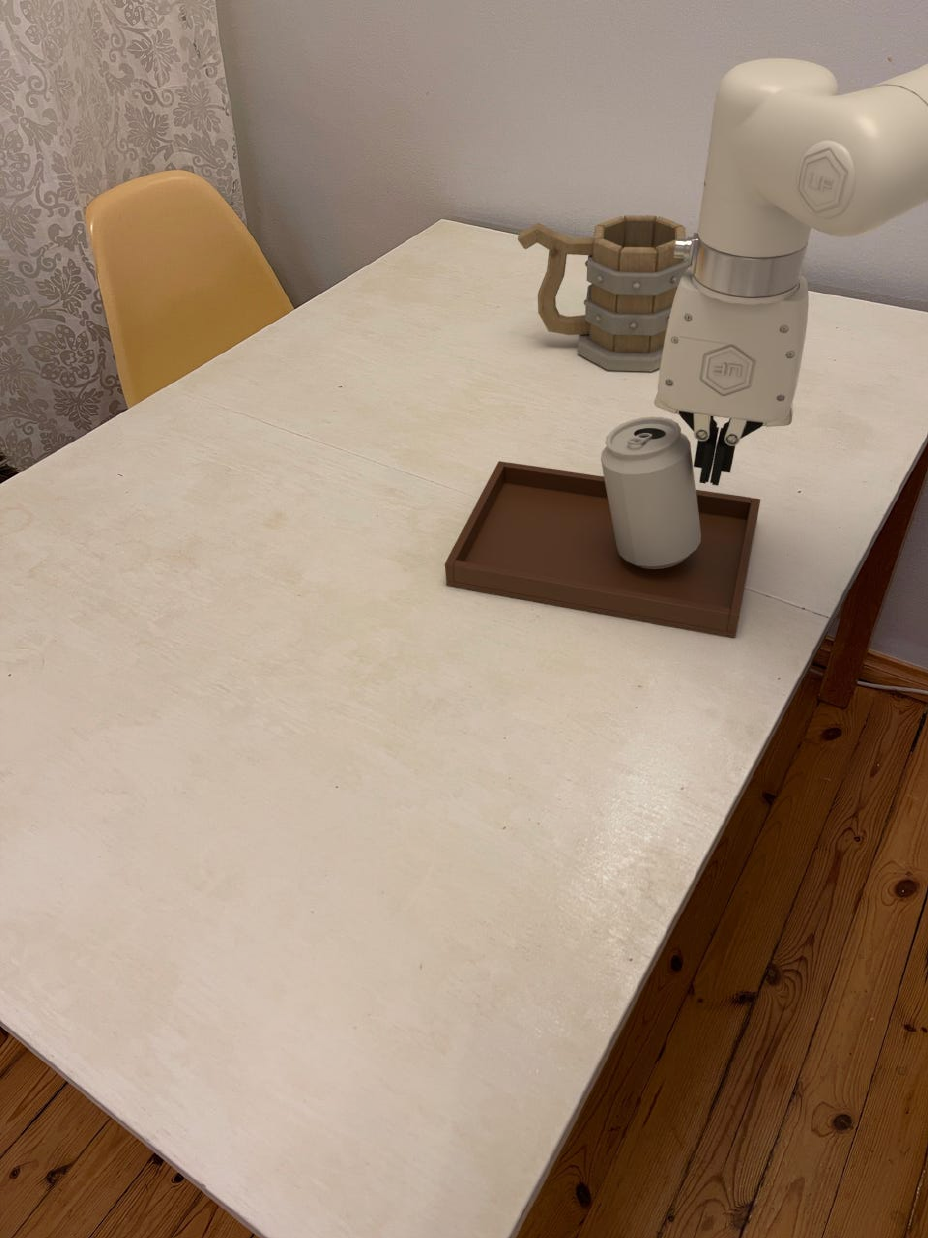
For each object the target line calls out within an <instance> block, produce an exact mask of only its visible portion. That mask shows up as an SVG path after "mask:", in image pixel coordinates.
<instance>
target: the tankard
mask: <svg viewBox="0 0 928 1238" xmlns="http://www.w3.org/2000/svg"><path fill="white" fill-rule="evenodd" d="M593 231H594V232H593V237H570V236H567V235H564V234H562V233H561V232H557V231H555V230H553V229H551V228H549V227H548V226H545V225H543V224H542V223H539V222H536V223H535V224H533V225H532V226H530V227H528V228H526V229H524V230H523V231H521V232H519V233H518V235H517V241H518V242H519V244H520V245H521V247H522V249H523V250H527V249H530V248H531V247H533V246H534V245H536V244H539V245H541V246H542V247H544V248H546V249H547V250H548V260H547V267H546V271H545V274H544V277H543V280H542V282H541V285H540V286H539V289H538V292H537V314H538V315H539V317H540V319H541V320H542V323H543V324H544V326H545V328H546V329H547V331H548V332H549V333H555V334H560V335H566V336H578V345H577V354H578V355H579V356H581V357H583V358H585V359H587V360H588V361H590V362H592V363H594V364H596V365H597V366H599V367H600V368H603V369H605V370H606V371H610V372H611V371H612V372H613V371H616V372H621V371H622V372H643V373H645V372H646V373H647V372H650V373H652V372H655V371H656V370H658V369H660V366H661V360H662V353H663V348H664V342H665V336H666V331H667V326H668V321H669V316H670V312H671V308H672V304H673V300H674V297H675V293H676V290H677V287H678V285H679V282H680V279H681V277H682V276H683V275H684V273H685V271H686V270H687V269H688V268H690V267H691V266H689V261H686V260H684V258H675V257H674V248H675V243H676V239H677V238H683V239H687V235H686V227H685V226H684V225H683V224H681V223H678V222H676V221H673V220H671V219H668V218H665V217H663V216H660V215H658V216H657V215H638V214H637V215H635V214H633V215H620V216H617V217H614V218H611V219H609V220H606V221H603V222H601V223H598V224H597V225H596V226H594V230H593ZM568 255H571V256H572V255H575V256H587V260H586V261H584V265H585V267H586V282H587V283H589V285H588V286H587V288H586V289H587V291H586V298H585V299H584V300H583V305H584V306H585V308H584V309H585V311H584V314H583V315H573V316H566V315H563V314H561V313H560V312H559V311H558V308H557V304H556V303H557V302H556V301H557V300H556V297H557V295H558V292H559V289H560V287H561V285H562V283H563V281H564V280H563V279H564V278H565V274H566V265H567V258H568Z"/></svg>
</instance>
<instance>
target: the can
mask: <svg viewBox="0 0 928 1238" xmlns="http://www.w3.org/2000/svg"><path fill="white" fill-rule="evenodd" d="M691 444H692V443H691V440H690V439H689V437H688V436H687V435H686V434H684V433H682V428H681V426H680V424H679V423H678V422H676V421H674V420H673V419H671V418H667V417H663V416H645V417H638V418H634V419H630V420H628V421H626V422H623V423H621V424H619V425H617V426H616V427H614V428H613V429H611V431H610V432H609V433H608V434H607V436H606V440H605V445H606V446H605V447H604V448H603V450H602V452H601V457H600V462H601V467H602V473H603V476H604V479H605V484H606V490H607V495H608V501H609V507H610V512H611V518H612V523H613V529H614V534H615V540H616V545H617V549H618V552H619V555H620V556H621V557H622V558H624V559H625V560H626V561H628V562H630V563H633V564H634V565H637V566H639V567H642V568H648V569H661V568H666V567H670V566H674V565H676V564H678V563H680V562H682V561H683V560H685V559H686V558H687V557H688V556H689V555H690V554H691V553H693V552H694V551H695V550H696V549H697V547H698V546H699V544H700V542H701V530H700V522H699V513H698V504H697V496H696V490H697V488H696V480H695V470H694V461H693V453H692V445H691Z"/></svg>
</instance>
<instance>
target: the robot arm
mask: <svg viewBox="0 0 928 1238" xmlns="http://www.w3.org/2000/svg"><path fill="white" fill-rule="evenodd" d="M839 89H840V88H839V83H838V81H837V79H836V76H835V75H834V74H833V73H832V71H830V70H829V69H828V68H827V67H824V66H823V65H821V64H818V63H816V62H812V61H810V60H809V61H808V60H805V59H804V60H803V59H798V58H788V57H768V58H767V57H766V58H759V59H754V60H753V59H752V60H749V61H745V62H742V63H739V64H737V65H735V66H734V67H732V68H731V69H730V70H728V71H727V72H726V73H725V75H723V77H722V79H721V81H720V83H719V84H718V87H717V90H716V94H715V98H714V99H715V100H714V104H713V105H714V106H713V113H712V120H711V127H710V135H709V142H708V143H709V144H708V151H707V157H706V164H705V165H706V166H705V171H704V172H705V173H704V180H703V188H702V196H701V203H700V211H699V218H698V226H697V232H694V233H693V236H686V239H683V238H677V239H676V243H675V248H674V257H675V258H684V260H686V261H688V262H689V266H690V267H689V268H688V269H687V270H686V271H685V273H684V275H683V276H682V277H681V279H680V282H679V285H678V287H677V290H676V293H675V297H674V300H673V304H672V308H671V312H670V316H669V321H668V326H667V331H666V336H665V342H664V348H663V353H662V360H661V366H660V368H659V371H658V372H659V374H658V381H657V393H656V395H655V398H654V401H653V404H654V406H655V407H656V408H658V409H661V410H663V411H667V412H669V413H671V414H674V415H676V414H677V415H679V416H680V418H681V419H682V420H683V421H684V422H685V424H687V425H688V427H689V428H690V429H691V430H692V431H693V435H694V438H695V440H696V441H697V442H696V448H695V454H694V461H693V468H698V469H700V473H699V474H700V475H699V482H698V483H699V484H706V483H710V484H711V485H712V486H717V487H718V486H719V485H720V481H721V477H722V473H723V472H724V473H731V470H732V466H733V461H734V455H735V450H736V446H737V445H738V444H739V443H740V441H741V440H742V439H743V438H745V437H747V436H750V434H752V433H754V432H755V431H757V430H759V429H760V428H762V427H766V428H771V427H786V426H789V425H791V423H792V421H793V415H794V400H795V399H794V398H795V396H796V391H797V387H798V382H799V377H800V372H801V368H802V367H801V366H802V361H803V354H804V349H805V344H806V343H805V342H806V337H807V328H808V320H809V304H810V303H809V298H810V297H809V284H808V281H807V279H806V278H805V277H804V276H803V275H802V272H803V269H804V263H805V259H806V254H807V250H808V245H809V240H810V236H811V231H812V229H813V230H815V231H817V232H819V233H822V234H825V235H828V236H833V237H837V238H838V237H839V238H849V237H856V236H859V235H864V234H867V233H869V232H871V231H874V230H876V229H878V228H880V227H882V226H884V225H886V224H887V223H889V222H891V221H893V220H895V219H898V218H899V217H901V216H903V215H905V214H906V213H908V212H910V211H912V210H913V209H915V208H917V207H919V206H922V204H926V202H928V62H927V63H925V64H924V65H921V66H920V67H918V68H916V69H914V70H911V71H909V72H905V73H903V74H900V75H897V76H895V77H892V78H889V79H887V80H884V81H882V82H879V83H877V84H875V85H872V86H870V87H867V88H864V89H861V90H856V91H852V92H847V93H843V94H840V90H839ZM715 417H716V418H717V417H718V418H724V419H728V421H726V422H725V423H724V424H723V427H719V426H718V422H717V421H716V420H715Z"/></svg>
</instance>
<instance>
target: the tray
mask: <svg viewBox="0 0 928 1238" xmlns="http://www.w3.org/2000/svg"><path fill="white" fill-rule="evenodd" d="M696 496H697V504H698V513H699V522H700V530H701V542H700V544H699V546H698V547H697V549H696V550H695V551H694V552H693V553H691V554H690V555H689V556H688V557H687V558H686V559H685V560H683V561H682V562H680V563H678V564H676V565H674V566H670V567H666V568H661V569H648V568H642V567H639V566H637V565H634V564H633V563H630V562H628V561H626V560H625V559H624V558H622V557H621V556H620V555H619V552H618V549H617V545H616V540H615V534H614V529H613V523H612V518H611V512H610V507H609V501H608V495H607V490H606V484H605V479H604V475H597V474H590V473H584V472H575V471H571V470H570V471H569V470H563V469H556V468H548V467H542V466H534V465H528V464H527V465H526V464H521V463H513V462H508V461H501V460H498V461H497V463H496V465H495V467H494V469H493V471H492V473H491V475H490V476H489V479H488V481H487V483H486V484H485V486H484V488H483V490H482V492H481V494H480V496H479V498H478V500H477V502H476V503H475V505H474V507H473V509H472V511H471V513H470V515H469V516H468V518H467V521H466V522H465V525H463V528H462V531H461V532H460V533H459V536H458V538H457V540H456V542H454V545H453V547H452V549H451V551H450V553H449V555H448V556H447V559H446V560H445V562H444V572H445V585H446V586H448V587H453V588H459V589H464V590H470V591H475V592H480V593H486V594H490V595H491V594H492V595H495V596H502V597H508V598H512V599H519V600H524V601H530V602H535V603H540V604H546V605H551V606H552V605H553V606H557V607H562V608H567V609H573V610H580V611H584V612H589V613H595V614H599V615H601V614H602V615H606V616H611V617H617V618H623V619H629V620H634V621H638V622H645V623H649V624H656V625H662V626H666V627H672V628H677V629H683V630H688V631H694V632H699V633H705V634H710V635H715V636H721V637H727V638H732V639H735V638H736V636H737V631H738V626H739V620H740V617H741V616H740V615H741V611H742V605H743V599H744V593H745V587H746V582H747V576H748V571H749V566H750V560H751V556H752V555H751V554H752V549H753V544H754V538H755V533H756V527H757V521H758V515H759V509H760V505H761V499H760V498H754V497H750V496H743V495H736V494H735V495H734V494H727V493H721V492H714V491H707V490H702V489H701V490H700V489H696Z"/></svg>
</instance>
